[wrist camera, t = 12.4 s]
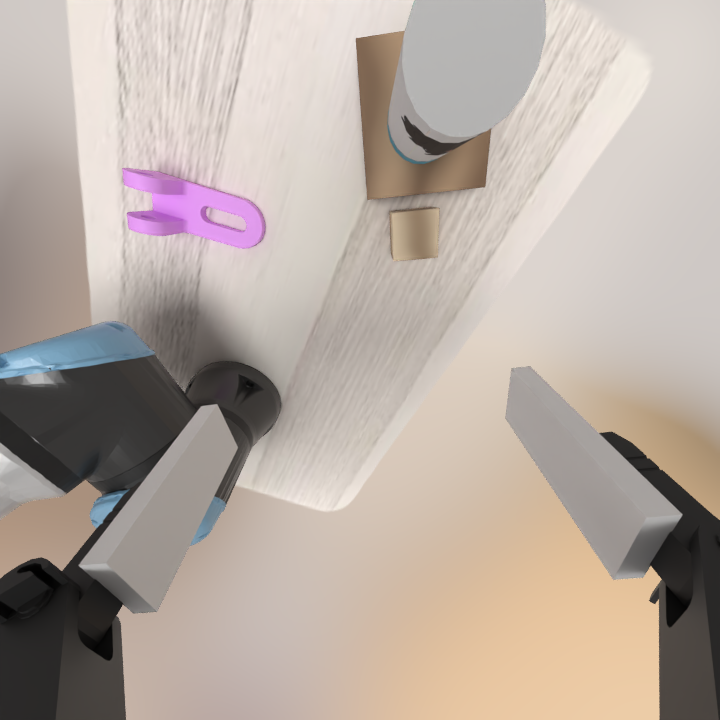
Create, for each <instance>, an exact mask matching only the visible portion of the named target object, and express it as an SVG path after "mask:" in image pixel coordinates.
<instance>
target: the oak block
mask: <svg viewBox="0 0 720 720" xmlns="http://www.w3.org/2000/svg"><path fill="white" fill-rule="evenodd" d="M389 214H390V239H391V255H392V258H393V261H404V260H415V259H426V258H437V257H438V233H439V208H435V207H424V208H415V209H405V210H395V211H389Z"/></svg>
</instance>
